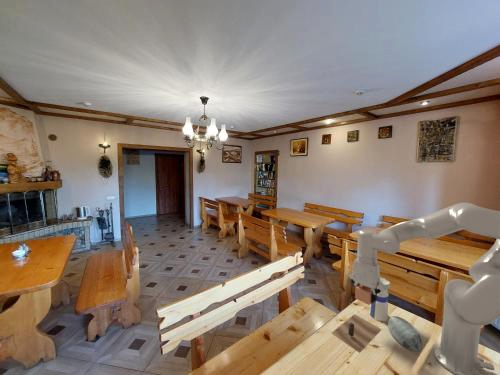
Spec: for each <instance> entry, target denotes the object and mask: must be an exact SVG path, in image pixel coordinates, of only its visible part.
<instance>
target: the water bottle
mask: <svg viewBox="0 0 500 375" xmlns="http://www.w3.org/2000/svg"><path fill="white" fill-rule="evenodd" d="M381 269H382V270H383V267H381V266H380V265H379V271H380V272H382V271H381ZM380 281H381V283H382V284H383V285H384V287H385V288H386V290H385V291H382V292H380V293H378V294H377V300H376V301H375V302H374V303H371V304H370V305H369V312H368V313H369V315H370V316H371V318H372V319H375V320H376V321H379V322H386V321H389V319H388V318H389V317H388V314H389V302H388V297H389V292H388V289H389V288H391V287H392V286H391V282H390V281H389V280H388V279H387V278H384V277H382V276H380ZM379 288H380V287H379V286H377V289H379Z"/></svg>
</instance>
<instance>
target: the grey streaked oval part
mask: <svg viewBox="0 0 500 375" xmlns="http://www.w3.org/2000/svg"><path fill="white" fill-rule="evenodd" d="M387 321H388V322H387V327H388V331H389V333H390V335H391V337H392V338H393V340H395V341H396V342H397V343H398V344H399V345H401V346H402V347H404V348H406V349H408V350H409V351H413V352H420V351H421V349H422V346H423V341H422V338H421V335H420V332H419V331H418V329H416V328H415V326H414V325H413V324H411V323H410V322H409V321H407V320H406V319H405V318H403V317H400V316H395V315H392V316H390V317H389V319H388V320H387Z"/></svg>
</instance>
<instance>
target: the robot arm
mask: <svg viewBox="0 0 500 375" xmlns="http://www.w3.org/2000/svg"><path fill="white" fill-rule="evenodd" d="M462 230H464V231H466V232H470V233H473V234H475V235H476V234H477V235H480V236H484V237H487V238H493V239H496V240H495V242H494V244H493V245H492V246H491V247H490V248H489V250H488V251H487V252H485V253H483V255H482V256H481V257H479V259H477V260H476V261H475V262H474V263H473V264H472V265H470V267H469V269H468V274H469V276H470V278H471V279H472V281H473V282H474V283H472V282H469V281H467V280H465V279H460V278H457V279H456V278H454V279H451V280H449V281H448V282H446V284H445V286H444V289H443V299H444V300H443V317H442V326H441V337H440V346H438V347H436V348H435V349H434V351H433V352H434V358H435V359H436V361H437V362H438V363H439V364H440V365H441V366H442V367H444V368H445V369H446V370H448V371H449V372H450V373H451V374H454V375H483V373H482V370H483V369H487V370H490V371H495V366H494V365H493V363H491V362H487V361H486V362H485V361H484V358H483V357H481V356H478V351H479V345H480V344H479V343H480V335H481V330H482V329H481V328H482V326H486V325H489V324H492V323H494V322H496V320H498V319H499V318H500V210H494V209H489V208H487V207H482V206H479V205H476V204H473V203H471V202H459V203H456V204H452V205H449V206H447V207H445V208H442V209H439V210H438V211H437V210H436V211H434V212H432V213H428V214H426V215H424V216H421V217H418V218H415V219H411V220H407V221H406V220H405V221H403V222H400V223H397V224H394V225H392V226H390V227H385V228H384V229H382V230H381V231H380V232H379V233H377V232H376V231H374V230H372V229H360V230H358V232H357V249H356V250H357V251H355V252H354V256H355V257H356V258H354V262H353V265H352V272H351V273H349V274H348V275H347V276H348V278H349V279H350V280H351V282H352V283H353V286H354V289H355V288H356V287H357V286H359V285H360V284H362V285H364V286H366V287H369V288H371V290H372V294H371V303H374V302H375V301H376V300H377V294H378V293H380V292H382V291H385V290H386V288H385V287H384V285H383V284H382V283H381V281H380V277H381V274H380V271H379V266H380V265H379V263H378V252H381V253H385V254H396V253H398V252H399V251H400V250H401V243H403V242H406V241H410V240H413V239H429V240H430V239H432V240H433V239H434V240H435V239H438V238H442V237H444V236H447V235H450V234H453V233H456V232H459V231H462ZM377 286H379V287H380V288H379V289H377Z"/></svg>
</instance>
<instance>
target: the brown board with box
mask: <svg viewBox="0 0 500 375" xmlns="http://www.w3.org/2000/svg"><path fill="white" fill-rule="evenodd" d="M381 331H382V328H380V327H378V326H376V325H375V324H373V323H371V322H369V321H368V320H366V319H364V318H362V317H360V316H359V315H357V314H353V315H352V316H351V317H349V318H348V319H347V320H346V321H344V322H343V323H342V324H341V325H340V326H338V327H337V328H336V329H334V330H333V331H332V332H331V334H332V335H333V336H335V337H336V338H337V339H339V340H341V341H342V343H345V344H346V345H348V346H349V347H350V348H352V349H353V350H354V351H356V352H358V353H359V354H360V353H361V352H362V351H363V350H364V349H365V347H367V346H368V345H369V344H370V343H371V341H372V340H374V339H375V337H376V336H377V335H378V334H379V333H380V332H381Z"/></svg>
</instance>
